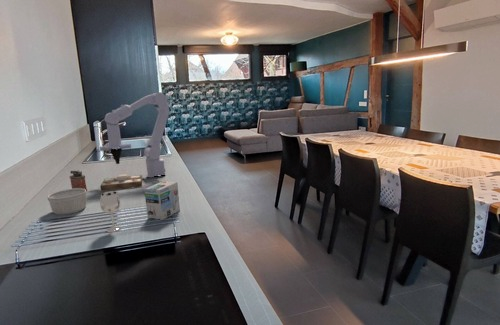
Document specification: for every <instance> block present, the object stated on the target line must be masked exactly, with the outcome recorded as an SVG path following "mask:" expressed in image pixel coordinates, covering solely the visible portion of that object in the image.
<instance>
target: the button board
mask: <svg viewBox="0 0 500 325" xmlns="http://www.w3.org/2000/svg"><path fill="white" fill-rule="evenodd" d="M139 175H140V181H137V182H128V183H120V184H111V185H102V184H103V183H107V182H105V179H106V178H104V179H103V181H102V183H101V184H100V186H99V187H100V192H110V191H116V190H125V189H133V188H132V187H134V188H141V187H140V186H142V187H143V181H142V180H144V179H143V174H138V175H135V176H139ZM131 176H132V175H129V176H128V175H127V180H131ZM112 178H114V180H115V181H114V182H117V181H118V177H112ZM112 178H108V179H112ZM132 180H134V179H132ZM123 181H126V180H123Z"/></svg>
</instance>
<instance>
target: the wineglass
mask: <svg viewBox="0 0 500 325" xmlns="http://www.w3.org/2000/svg"><path fill="white" fill-rule="evenodd" d="M99 200H100V202H99V204H100V209H101V210H102V212H104V213H106V214H110V216H109V217H110V218H111V224H112V226H111V227H108V228H107V229H106V232H108V233H115V232H118V231H120V230H122V227H121V226H117V225H116V226H115V223H114V220H115V219H114V217H115V215H114V213H116V212H118V211H119V209H120V207H121V200H120V196H119V194H118V192H117V191H116V190H110V191H104V192H101V194H100V199H99Z"/></svg>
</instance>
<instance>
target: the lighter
mask: <svg viewBox="0 0 500 325" xmlns="http://www.w3.org/2000/svg"><path fill="white" fill-rule="evenodd" d="M69 180H70V185H71V189H75V188H82V189H85V190H86V191H87V192H88V189H87V182H86V175H85V174H84V175H83V172H82V171H80V170H70V175H69Z"/></svg>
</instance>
